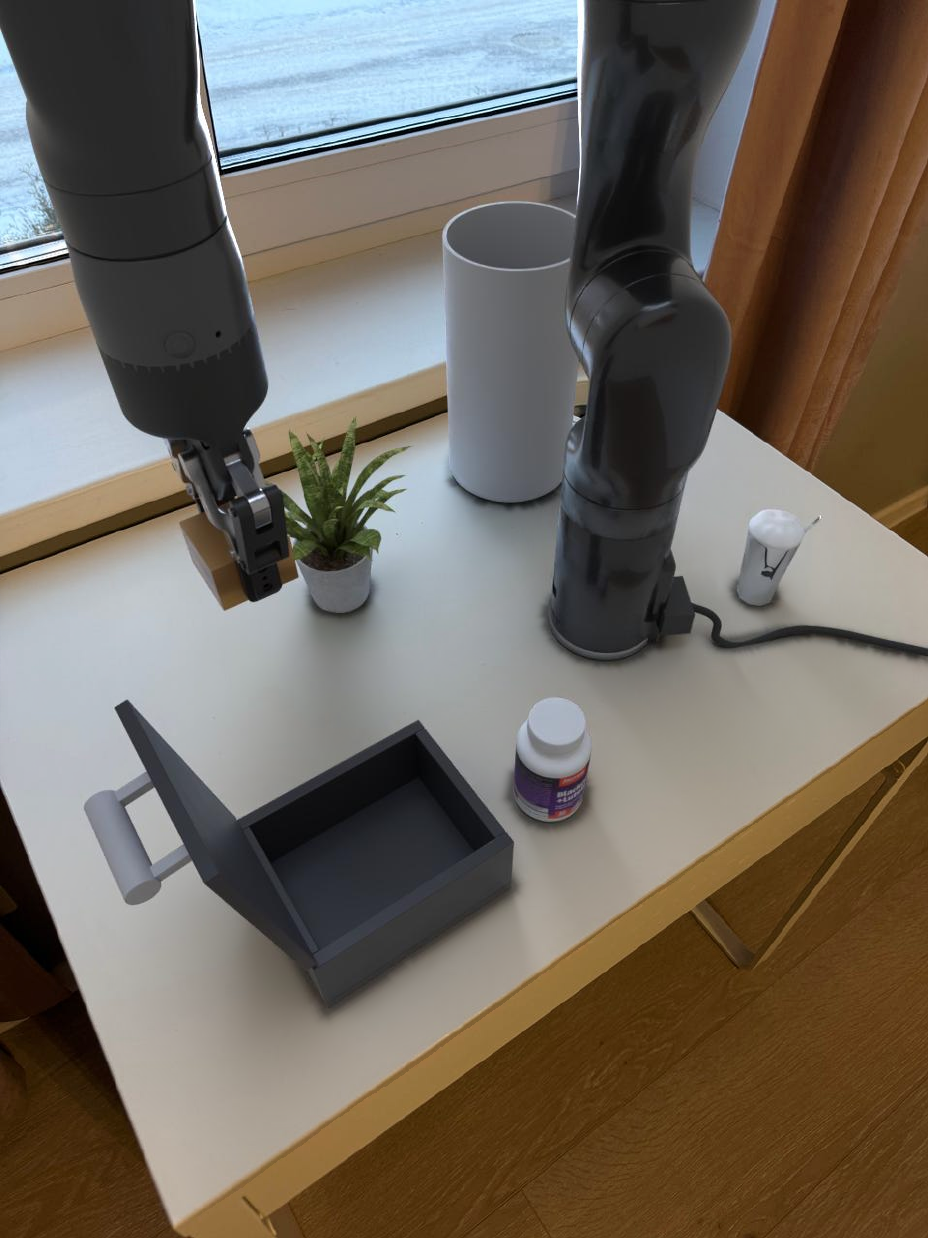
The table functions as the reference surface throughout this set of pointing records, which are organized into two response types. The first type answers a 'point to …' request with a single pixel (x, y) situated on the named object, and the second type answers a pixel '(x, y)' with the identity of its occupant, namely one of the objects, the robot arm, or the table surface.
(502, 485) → the cylinder vase
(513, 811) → the table surface
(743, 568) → the milkshake
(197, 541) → the block
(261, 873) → the lid
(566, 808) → the pill bottle
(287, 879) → the dark grey rectangular box
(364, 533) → the house plant
